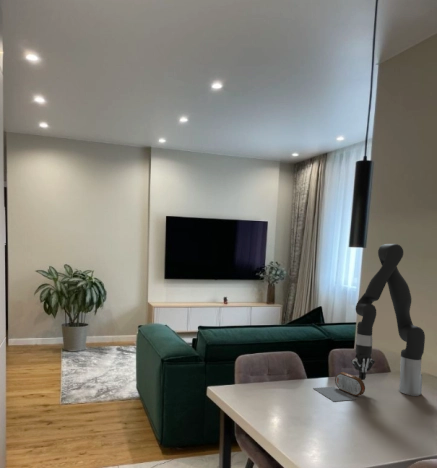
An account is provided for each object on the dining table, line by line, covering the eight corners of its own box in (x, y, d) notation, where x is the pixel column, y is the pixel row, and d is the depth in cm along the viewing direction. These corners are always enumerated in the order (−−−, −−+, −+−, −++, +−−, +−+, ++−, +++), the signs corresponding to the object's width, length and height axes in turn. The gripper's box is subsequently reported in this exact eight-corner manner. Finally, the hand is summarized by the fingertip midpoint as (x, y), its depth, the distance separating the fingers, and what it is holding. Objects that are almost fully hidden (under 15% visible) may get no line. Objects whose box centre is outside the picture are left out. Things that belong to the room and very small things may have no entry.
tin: (364, 398, 175) (366, 379, 175) (360, 398, 173) (362, 380, 173) (337, 386, 187) (338, 369, 187) (333, 387, 185) (334, 370, 185)
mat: (333, 387, 186) (333, 386, 186) (355, 399, 171) (355, 399, 171) (313, 388, 182) (313, 388, 182) (333, 401, 167) (333, 401, 167)
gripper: (369, 341, 189) (367, 376, 188) (347, 341, 185) (345, 377, 184) (380, 345, 182) (378, 381, 181) (358, 345, 178) (356, 382, 177)
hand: (362, 379), depth 183 cm, fingers closed
